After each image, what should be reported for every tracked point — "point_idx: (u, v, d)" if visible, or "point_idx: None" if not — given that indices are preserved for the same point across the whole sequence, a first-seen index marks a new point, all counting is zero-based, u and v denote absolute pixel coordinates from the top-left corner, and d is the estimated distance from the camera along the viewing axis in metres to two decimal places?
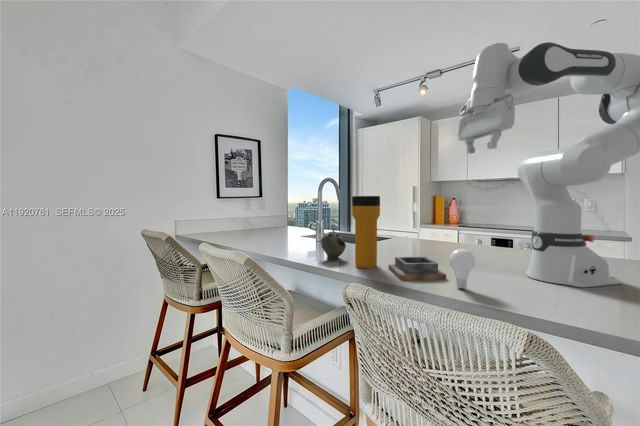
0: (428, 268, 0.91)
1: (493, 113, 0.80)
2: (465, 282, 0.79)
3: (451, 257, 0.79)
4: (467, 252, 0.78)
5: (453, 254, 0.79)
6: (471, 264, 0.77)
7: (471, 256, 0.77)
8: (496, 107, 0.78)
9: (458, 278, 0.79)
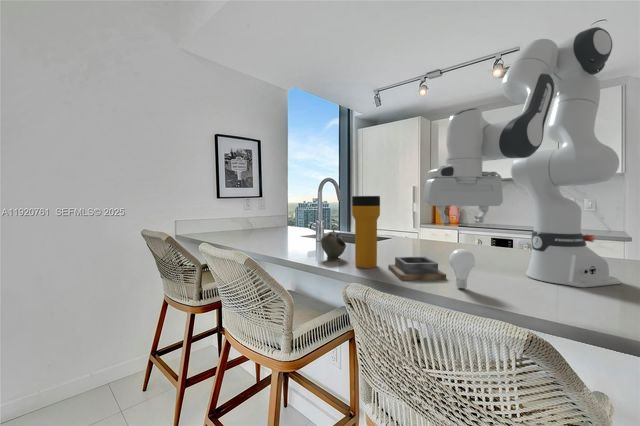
0: (428, 268, 0.91)
1: (487, 188, 0.77)
2: (465, 282, 0.79)
3: (451, 257, 0.79)
4: (467, 252, 0.78)
5: (453, 254, 0.79)
6: (471, 264, 0.77)
7: (471, 256, 0.77)
8: (493, 183, 0.77)
9: (458, 278, 0.79)
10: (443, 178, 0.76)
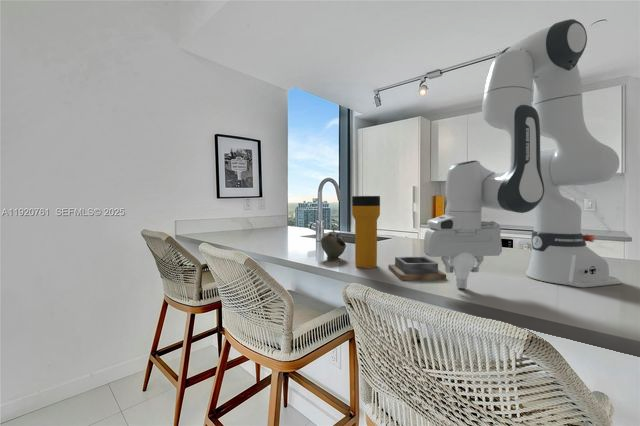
0: (428, 268, 0.91)
1: (486, 239, 0.78)
2: (465, 282, 0.79)
3: (451, 257, 0.79)
4: None
5: None
6: (471, 264, 0.77)
7: (471, 256, 0.77)
8: (492, 234, 0.78)
9: (458, 278, 0.79)
10: (443, 230, 0.76)
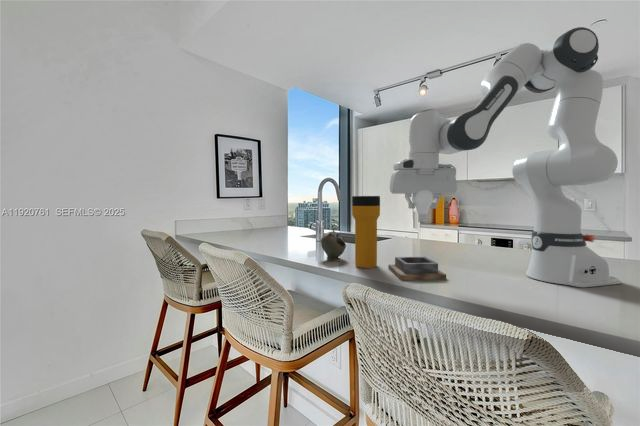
0: (428, 268, 0.91)
1: (443, 178, 0.90)
2: (425, 217, 0.91)
3: (413, 195, 0.91)
4: (426, 190, 0.90)
5: None
6: (430, 199, 0.89)
7: (430, 193, 0.89)
8: (448, 174, 0.90)
9: (419, 213, 0.91)
10: (405, 170, 0.88)
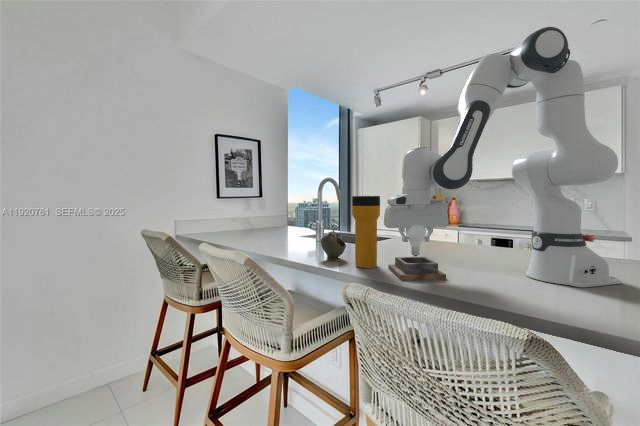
0: (428, 268, 0.91)
1: (435, 213, 0.94)
2: (418, 250, 0.94)
3: (406, 229, 0.95)
4: None
5: None
6: (422, 234, 0.92)
7: (422, 227, 0.93)
8: (440, 209, 0.93)
9: (412, 246, 0.95)
10: (398, 206, 0.92)
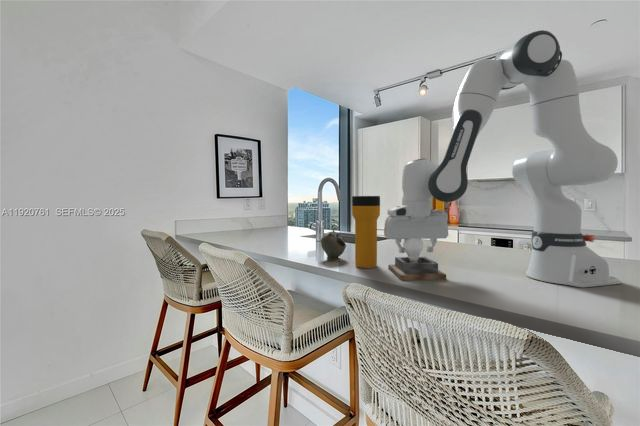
0: (428, 268, 0.91)
1: (435, 224, 0.94)
2: None
3: (403, 243, 0.95)
4: (416, 238, 0.94)
5: (405, 240, 0.95)
6: (419, 248, 0.93)
7: (419, 241, 0.93)
8: (440, 220, 0.93)
9: (410, 260, 0.95)
10: (398, 217, 0.92)
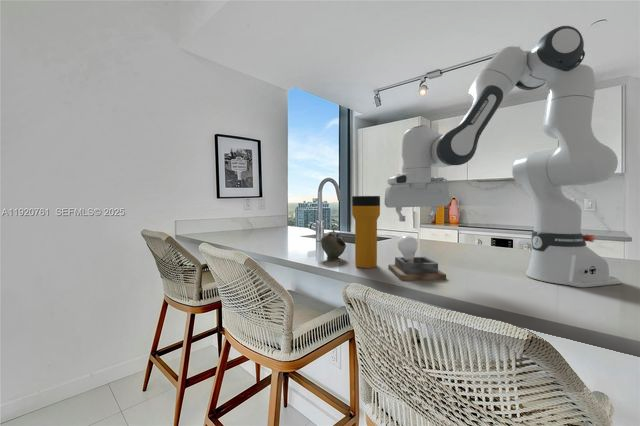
0: (428, 268, 0.91)
1: (436, 192, 0.93)
2: (412, 262, 0.95)
3: (398, 243, 0.96)
4: (410, 237, 0.94)
5: (399, 240, 0.95)
6: (414, 247, 0.93)
7: (413, 240, 0.94)
8: (440, 187, 0.93)
9: (406, 260, 0.95)
10: (398, 185, 0.91)
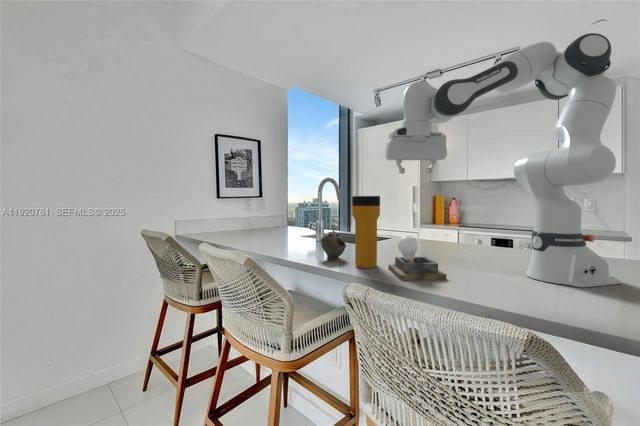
0: (428, 268, 0.91)
1: (434, 145, 0.98)
2: None
3: (398, 243, 0.95)
4: (410, 238, 0.93)
5: (399, 241, 0.95)
6: (414, 247, 0.93)
7: (413, 241, 0.93)
8: (439, 141, 0.98)
9: (406, 260, 0.95)
10: (399, 137, 0.97)
